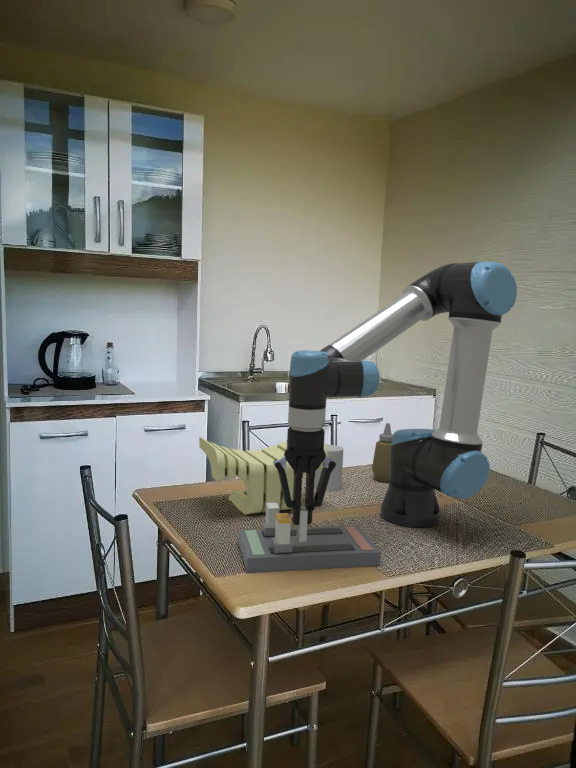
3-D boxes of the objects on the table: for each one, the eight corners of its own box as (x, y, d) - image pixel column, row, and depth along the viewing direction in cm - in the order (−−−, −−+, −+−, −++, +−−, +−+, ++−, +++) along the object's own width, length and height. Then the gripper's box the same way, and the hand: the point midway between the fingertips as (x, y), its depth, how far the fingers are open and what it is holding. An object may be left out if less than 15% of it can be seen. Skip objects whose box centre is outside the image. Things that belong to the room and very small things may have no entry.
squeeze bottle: (367, 480, 186) (370, 423, 183) (377, 474, 193) (380, 419, 190) (391, 485, 182) (395, 427, 179) (401, 479, 189) (405, 423, 186)
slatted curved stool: (216, 522, 146) (217, 451, 144) (198, 501, 160) (199, 436, 158) (325, 509, 158) (328, 443, 156) (299, 491, 173) (302, 430, 170)
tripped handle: (288, 545, 126) (289, 513, 125) (292, 552, 122) (293, 519, 121) (271, 545, 125) (272, 513, 124) (274, 553, 122) (276, 520, 121)
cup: (324, 481, 183) (326, 443, 181) (346, 487, 178) (348, 448, 176) (308, 487, 177) (310, 447, 175) (330, 493, 172) (332, 452, 170)
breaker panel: (357, 537, 140) (359, 498, 139) (379, 565, 125) (382, 522, 124) (238, 542, 134) (239, 501, 133) (246, 572, 120) (248, 526, 118)
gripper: (332, 423, 126) (327, 530, 129) (271, 423, 123) (267, 533, 127) (342, 431, 119) (336, 544, 122) (277, 431, 116) (273, 547, 119)
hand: (301, 538), depth 124 cm, fingers closed
